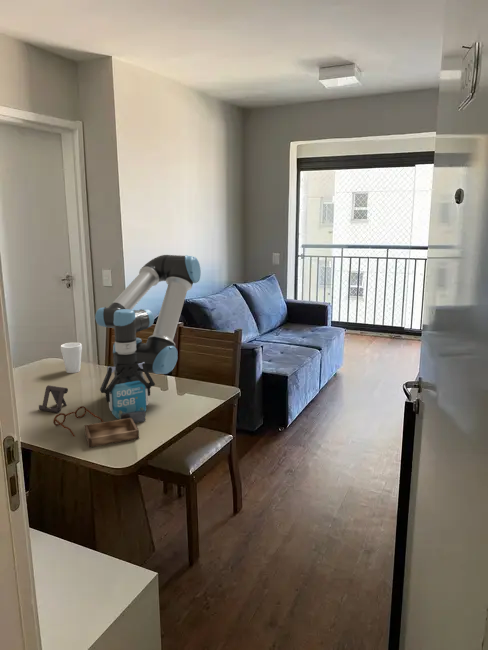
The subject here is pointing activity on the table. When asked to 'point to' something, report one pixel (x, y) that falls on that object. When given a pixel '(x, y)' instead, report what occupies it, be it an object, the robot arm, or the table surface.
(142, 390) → the data package
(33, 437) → the table surface
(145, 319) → the robot arm
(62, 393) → the portable electronic device stand
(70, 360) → the foam cup
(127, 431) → the tray
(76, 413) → the glasses
